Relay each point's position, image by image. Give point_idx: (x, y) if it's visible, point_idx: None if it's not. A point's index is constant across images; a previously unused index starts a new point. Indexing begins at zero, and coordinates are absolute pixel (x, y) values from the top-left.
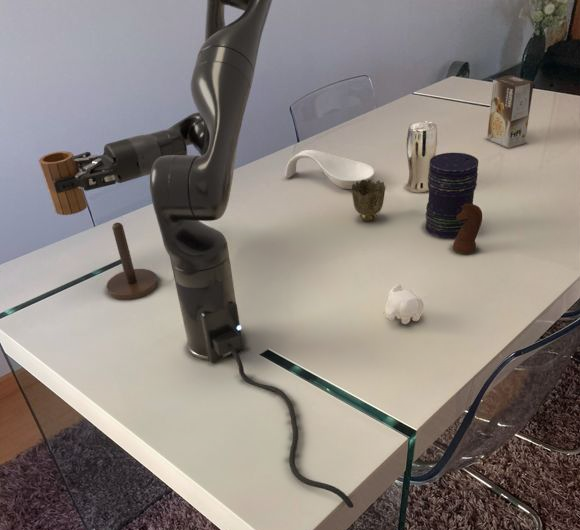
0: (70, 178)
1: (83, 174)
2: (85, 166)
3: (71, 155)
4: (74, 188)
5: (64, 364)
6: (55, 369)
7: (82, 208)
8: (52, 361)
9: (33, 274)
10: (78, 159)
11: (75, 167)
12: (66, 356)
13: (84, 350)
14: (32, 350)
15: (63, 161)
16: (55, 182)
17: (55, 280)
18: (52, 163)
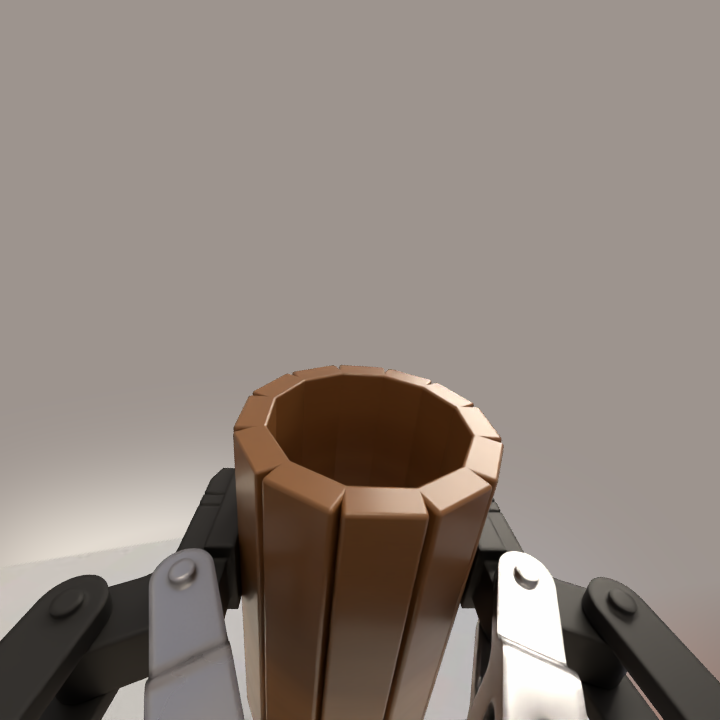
0: (213, 532)
1: (152, 639)
2: (229, 699)
3: (310, 492)
4: (243, 606)
5: (28, 580)
6: (39, 561)
7: (253, 712)
8: (69, 564)
9: (457, 635)
10: (542, 709)
11: (283, 579)
12: (45, 592)
13: None
14: (147, 545)
15: (236, 422)
16: None
17: None
18: (270, 383)
